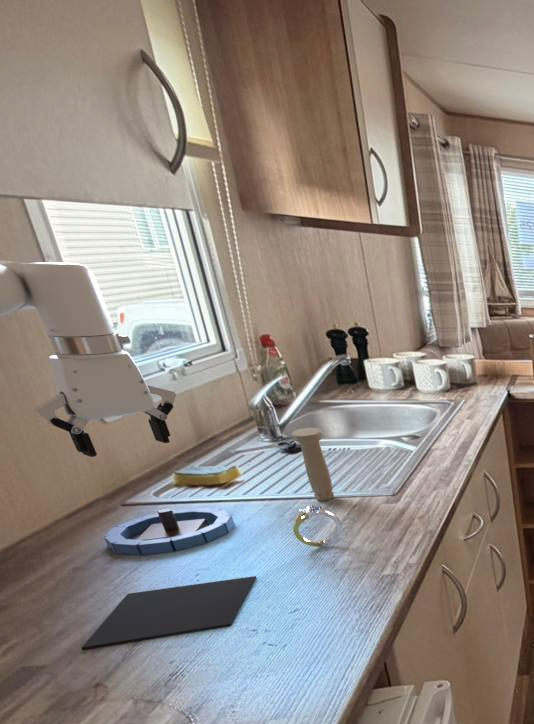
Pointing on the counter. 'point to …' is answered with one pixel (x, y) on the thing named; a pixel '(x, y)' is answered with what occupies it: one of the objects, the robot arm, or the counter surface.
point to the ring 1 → (123, 545)
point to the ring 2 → (311, 512)
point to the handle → (315, 462)
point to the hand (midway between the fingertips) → (127, 448)
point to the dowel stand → (171, 526)
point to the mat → (172, 612)
